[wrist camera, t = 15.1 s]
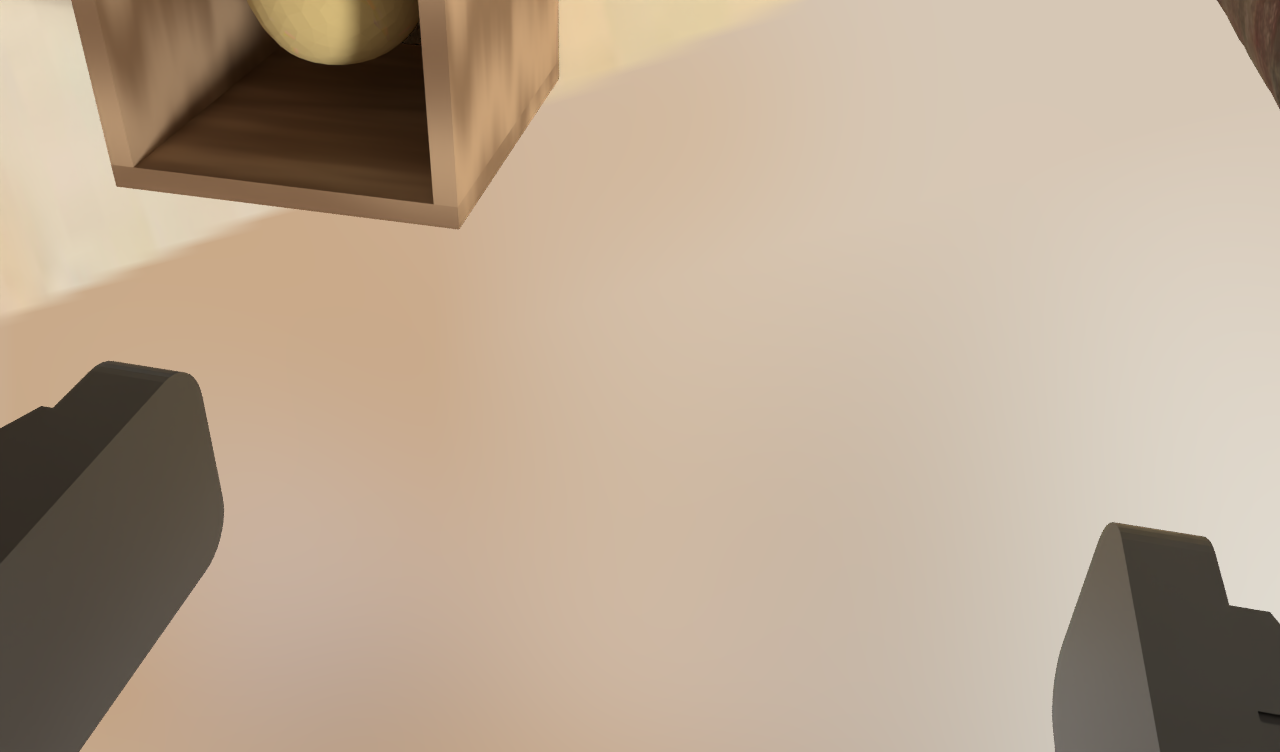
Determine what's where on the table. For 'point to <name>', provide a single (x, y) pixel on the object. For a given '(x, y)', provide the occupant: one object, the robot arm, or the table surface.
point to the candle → (1259, 36)
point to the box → (317, 106)
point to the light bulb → (337, 27)
